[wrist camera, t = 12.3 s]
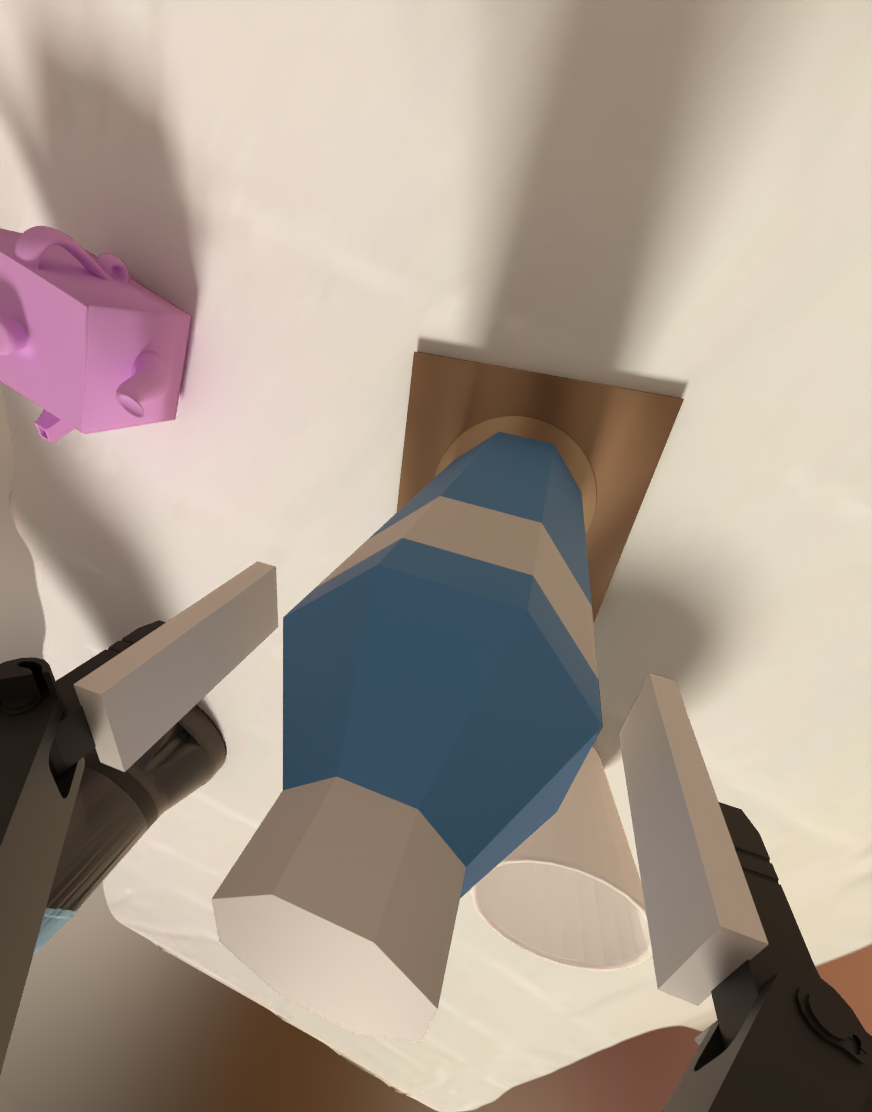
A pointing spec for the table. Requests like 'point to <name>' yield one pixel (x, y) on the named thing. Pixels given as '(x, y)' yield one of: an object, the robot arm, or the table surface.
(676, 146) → the table surface
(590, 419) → the plate
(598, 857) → the cup
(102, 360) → the teapot
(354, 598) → the water bottle
